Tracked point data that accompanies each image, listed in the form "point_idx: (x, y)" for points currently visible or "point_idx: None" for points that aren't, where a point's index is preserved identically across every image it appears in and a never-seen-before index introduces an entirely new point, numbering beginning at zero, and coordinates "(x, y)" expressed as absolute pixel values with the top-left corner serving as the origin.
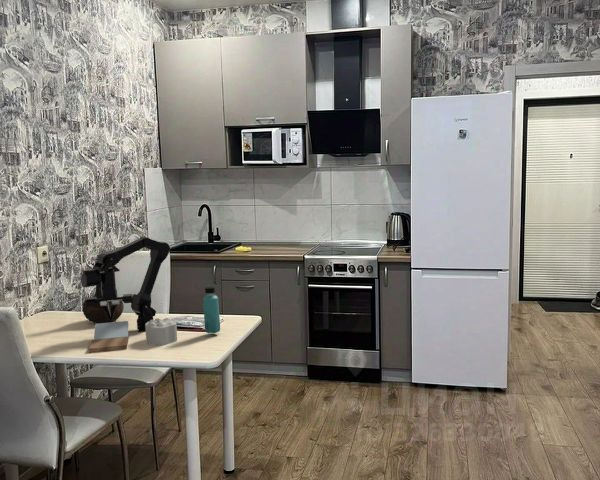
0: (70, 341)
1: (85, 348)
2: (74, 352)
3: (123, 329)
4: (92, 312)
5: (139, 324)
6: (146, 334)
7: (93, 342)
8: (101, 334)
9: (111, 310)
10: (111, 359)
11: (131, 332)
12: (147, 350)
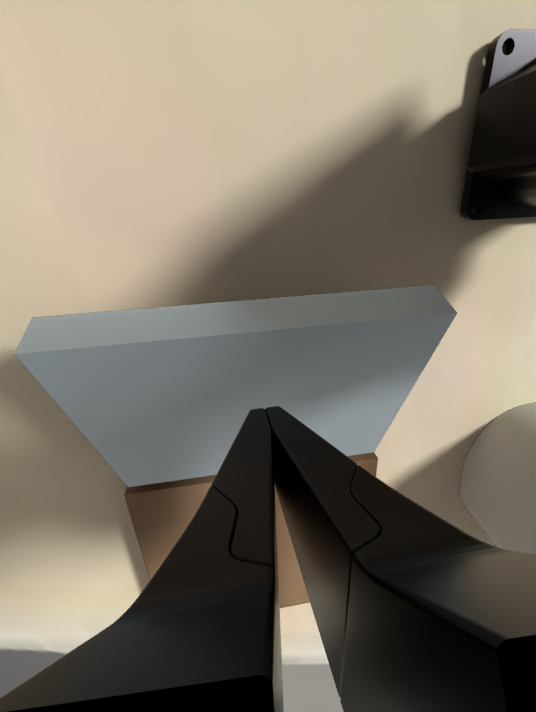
0: None
1: (112, 542)
2: (71, 594)
3: (365, 411)
4: None
5: (531, 173)
6: (499, 539)
7: (151, 540)
8: (173, 455)
9: (340, 671)
10: (295, 662)
11: (398, 208)
12: None
